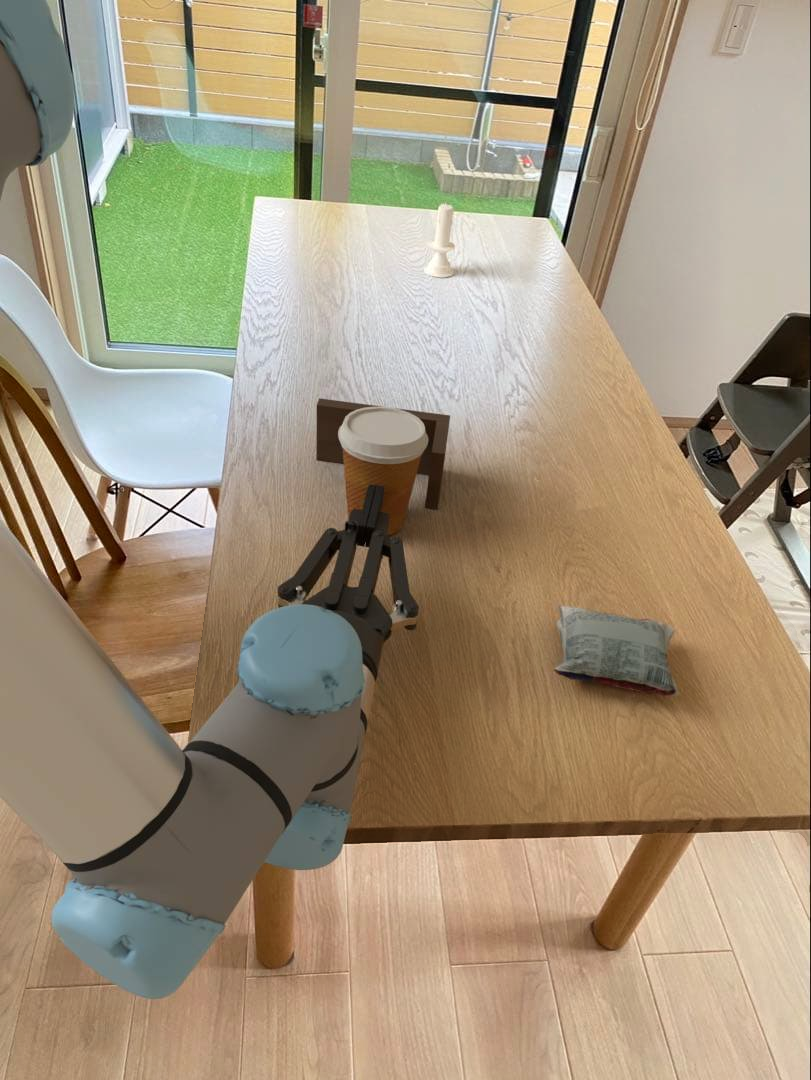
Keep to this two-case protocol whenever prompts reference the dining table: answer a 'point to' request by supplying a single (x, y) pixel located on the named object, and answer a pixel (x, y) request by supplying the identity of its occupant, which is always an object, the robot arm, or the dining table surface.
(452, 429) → the dining table surface
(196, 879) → the robot arm
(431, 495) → the corner
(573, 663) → the packaged food
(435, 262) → the candle
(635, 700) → the dining table surface
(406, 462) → the disposable coffee cup
